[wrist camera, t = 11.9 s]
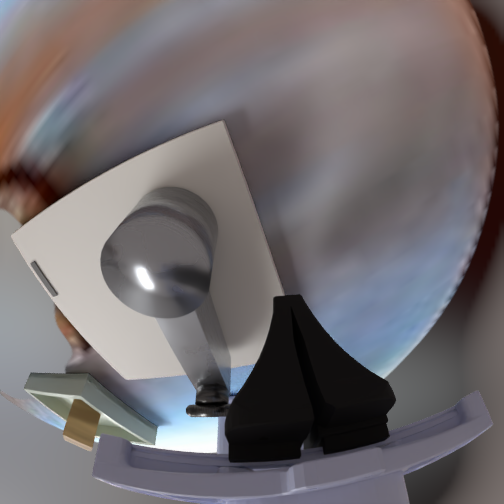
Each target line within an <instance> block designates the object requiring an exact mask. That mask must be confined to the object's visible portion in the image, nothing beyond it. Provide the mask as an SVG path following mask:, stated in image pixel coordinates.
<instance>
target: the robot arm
mask: <svg viewBox="0 0 504 504" xmlns="http://www.w3.org/2000/svg"><path fill="white" fill-rule="evenodd" d="M395 401H396V398H395V395H394V392H393V390H392V388H391V387H390V385H389V383H388V381H386V380H385V379H383V378H381V377H379V376H378V375H376V374H374V373H372V372H371V371H369V370H368V369H367V368H365V367H364V366H362V365H361V364H360V363H359V362H357V361H356V360H355V359H353V358H352V357H351V356H350V355H349V354H348V353H346V352H345V351H344V350H343V349H342V348H341V347H340V346H339V345H338V344H337V343H336V342H335V341H334V340H333V339H332V338H331V337H330V335H329V334H328V333H327V332H326V331H325V329H324V328H323V327H322V326H321V324H320V323H319V322H318V320H317V319H316V318H315V316H314V315H313V314H312V312H311V311H310V309H309V308H308V306H307V304H306V303H305V301H304V299H303V298H302V296H301V295H300V294H299V295H286V296H275V297H274V298H273V315H272V320H271V324H270V328H269V332H268V335H267V338H266V341H265V344H264V346H263V349H262V351H261V354H260V356H259V358H258V360H257V362H256V364H255V366H254V368H253V370H252V372H251V374H250V375H249V377H248V379H247V380H246V382H245V383H244V385H243V386H242V388H241V389H240V391H239V392H238V393H237V395H236V396H230V397H229V404H231V405H230V408H229V410H228V413H227V416H226V417H218V441H217V454H211V453H194V452H182V451H173V450H165V449H157V448H151V447H145V446H139V445H134V444H132V443H131V442H130V441H128V440H127V439H124V438H121V437H117V436H113V435H108V434H104V433H102V434H101V435H100V439H99V444H98V448H97V453H96V458H95V462H94V467H93V473H92V476H93V477H94V478H97V479H99V480H101V481H104V482H106V483H108V484H111V485H113V486H116V487H119V488H122V489H126V490H130V491H134V492H138V493H143V494H147V495H151V496H156V497H161V498H166V499H172V500H179V501H186V502H193V503H200V504H409V499H408V494H407V490H406V485H405V481H404V476H403V475H405V474H408V473H410V472H412V471H415V470H417V469H419V468H422V467H424V466H426V465H428V464H430V463H432V462H434V461H436V460H438V459H440V458H442V457H444V456H446V455H448V454H450V453H451V452H453V451H455V450H457V449H459V448H461V447H462V446H464V445H466V444H468V443H469V442H470V441H472V440H473V439H475V438H476V437H478V436H479V435H480V434H482V433H483V432H484V431H486V430H487V429H488V428H490V427H491V426H492V425H493V423H492V420H491V418H490V415H489V413H488V410H487V408H486V406H485V404H484V401H483V399H482V397H481V395H480V393H479V391H478V390H477V391H475V392H473V393H471V394H469V395H467V396H465V397H464V398H462V399H461V400H460V401H459V402H458V403H457V404H456V405H455V406H453V407H451V408H449V409H447V410H445V411H442V412H440V413H438V414H435V415H433V416H430V417H428V418H425V419H423V420H420V421H418V422H415V423H412V424H409V425H406V426H403V427H400V428H397V429H394V430H391V431H388V428H387V424H386V423H387V422H388V418H387V415H386V414H387V413H388V411H389V410H390V409H391V408H392V407H393V405H394V404H395Z"/></svg>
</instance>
